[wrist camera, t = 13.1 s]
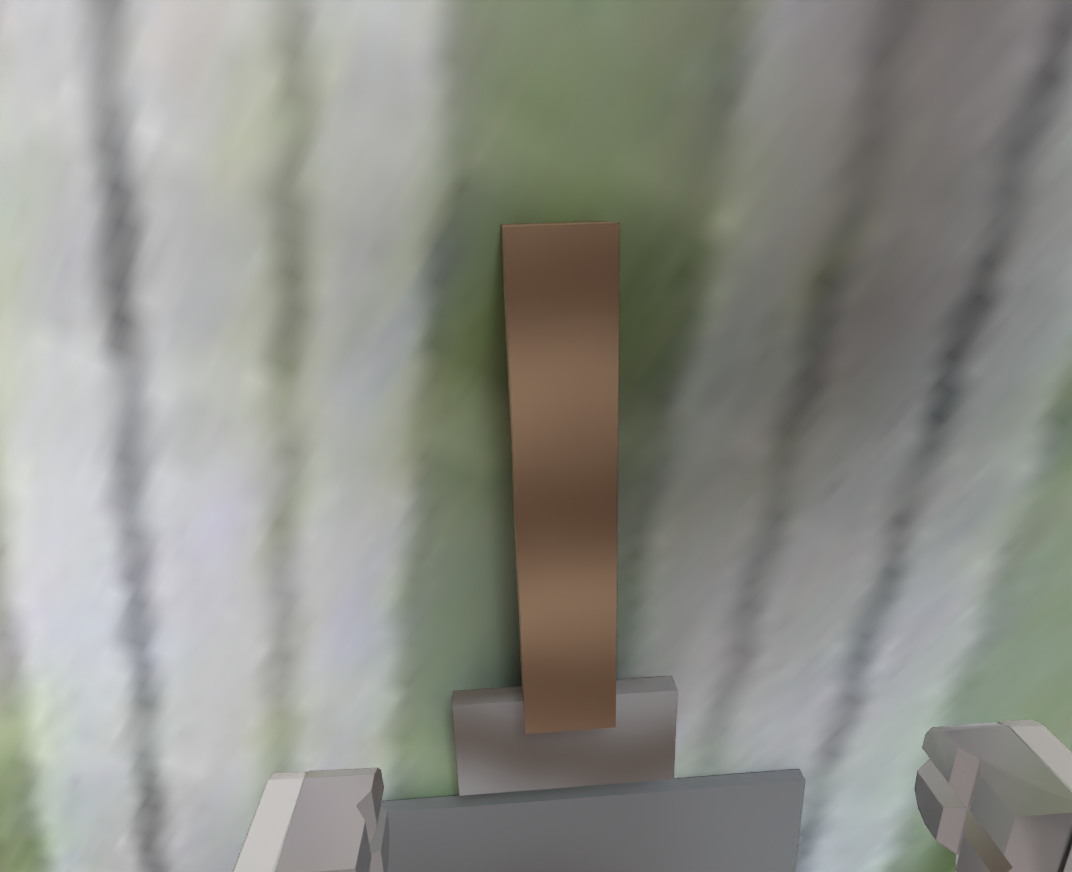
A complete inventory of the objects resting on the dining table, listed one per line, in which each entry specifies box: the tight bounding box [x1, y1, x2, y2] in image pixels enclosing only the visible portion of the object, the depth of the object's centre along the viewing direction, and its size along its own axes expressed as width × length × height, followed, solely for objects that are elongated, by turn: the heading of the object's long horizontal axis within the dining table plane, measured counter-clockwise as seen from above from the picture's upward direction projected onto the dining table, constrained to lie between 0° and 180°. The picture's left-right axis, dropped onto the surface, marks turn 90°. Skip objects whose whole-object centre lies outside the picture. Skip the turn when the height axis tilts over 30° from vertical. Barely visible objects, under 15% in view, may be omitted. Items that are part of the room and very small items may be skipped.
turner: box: [452, 221, 677, 796], centre depth 23 cm, size 20×8×4 cm, turn 2°
